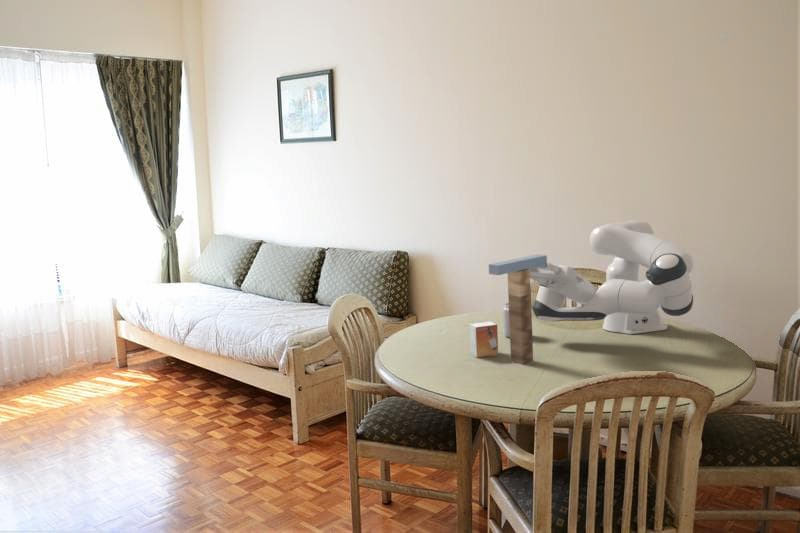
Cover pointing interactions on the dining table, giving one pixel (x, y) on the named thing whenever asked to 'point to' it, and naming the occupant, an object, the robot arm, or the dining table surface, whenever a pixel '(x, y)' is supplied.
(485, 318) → the dining table surface
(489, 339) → the small box
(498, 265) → the blue bar
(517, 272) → the stand
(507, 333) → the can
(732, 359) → the dining table surface
